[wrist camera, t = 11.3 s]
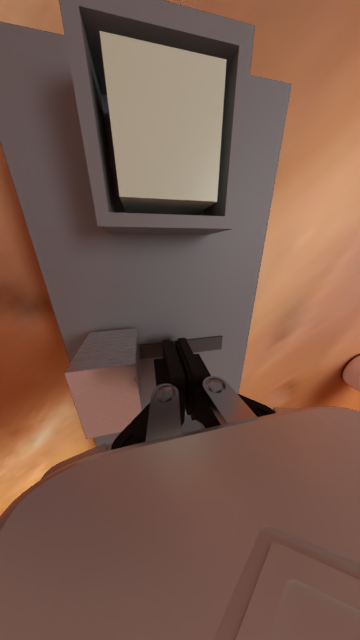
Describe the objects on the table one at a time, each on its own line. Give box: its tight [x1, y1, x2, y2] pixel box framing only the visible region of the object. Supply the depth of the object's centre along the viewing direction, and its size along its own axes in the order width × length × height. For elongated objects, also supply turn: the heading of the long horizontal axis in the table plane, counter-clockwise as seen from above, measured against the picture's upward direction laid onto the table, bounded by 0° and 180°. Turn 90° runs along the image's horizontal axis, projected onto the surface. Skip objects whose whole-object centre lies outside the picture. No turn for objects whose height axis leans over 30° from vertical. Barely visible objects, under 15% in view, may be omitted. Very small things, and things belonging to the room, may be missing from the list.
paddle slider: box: [64, 328, 143, 439], centre depth 10 cm, size 4×3×4 cm
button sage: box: [100, 31, 227, 215], centre depth 7 cm, size 4×4×3 cm
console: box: [0, 0, 292, 447], centre depth 13 cm, size 30×14×6 cm, turn 1°
